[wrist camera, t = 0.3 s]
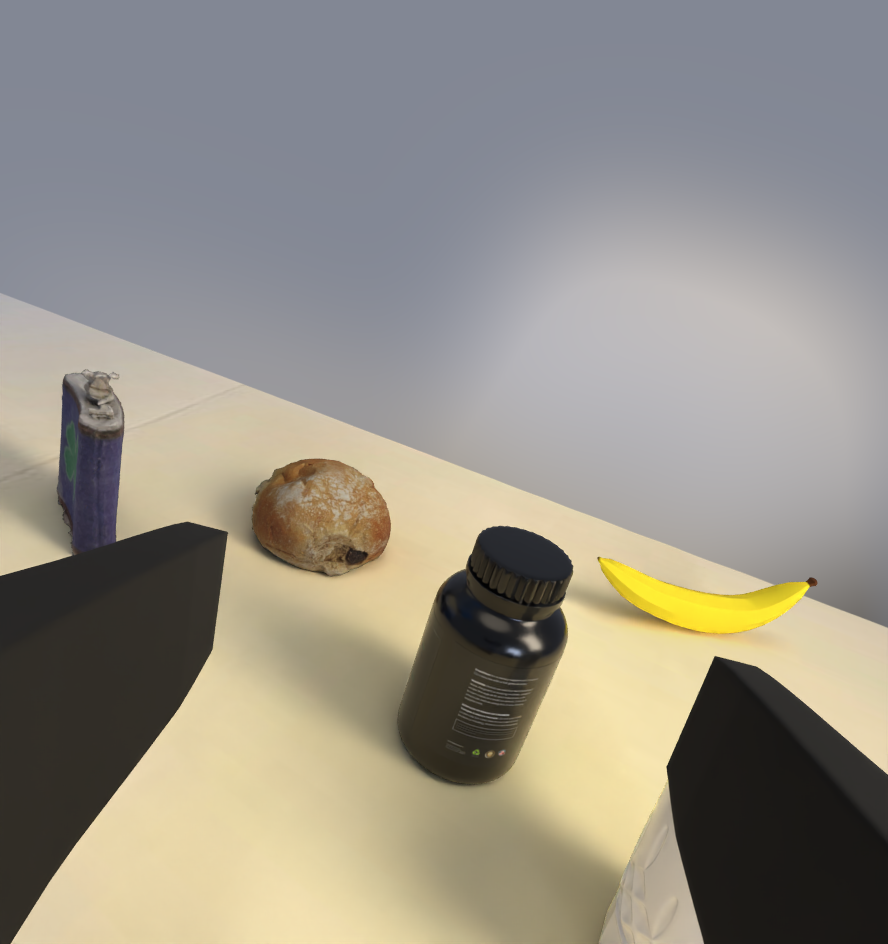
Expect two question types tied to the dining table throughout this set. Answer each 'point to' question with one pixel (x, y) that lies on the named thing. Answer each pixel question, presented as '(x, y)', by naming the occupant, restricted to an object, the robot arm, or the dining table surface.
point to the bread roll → (321, 516)
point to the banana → (703, 601)
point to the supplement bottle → (487, 657)
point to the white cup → (653, 889)
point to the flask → (90, 458)
